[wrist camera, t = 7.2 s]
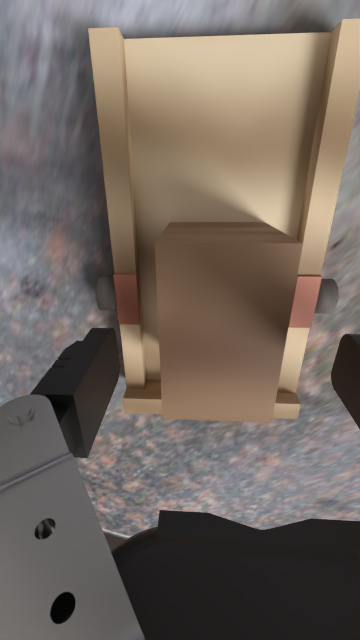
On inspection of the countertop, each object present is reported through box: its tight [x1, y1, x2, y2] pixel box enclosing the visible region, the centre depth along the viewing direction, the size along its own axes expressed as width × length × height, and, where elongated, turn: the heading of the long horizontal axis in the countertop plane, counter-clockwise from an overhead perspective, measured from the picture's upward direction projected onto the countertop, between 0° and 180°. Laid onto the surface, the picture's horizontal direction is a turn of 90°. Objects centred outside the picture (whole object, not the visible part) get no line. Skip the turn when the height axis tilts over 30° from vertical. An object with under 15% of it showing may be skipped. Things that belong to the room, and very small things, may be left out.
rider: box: [155, 222, 303, 422], centre depth 14 cm, size 8×5×6 cm, turn 0°
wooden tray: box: [88, 19, 360, 419], centre depth 16 cm, size 19×13×3 cm
